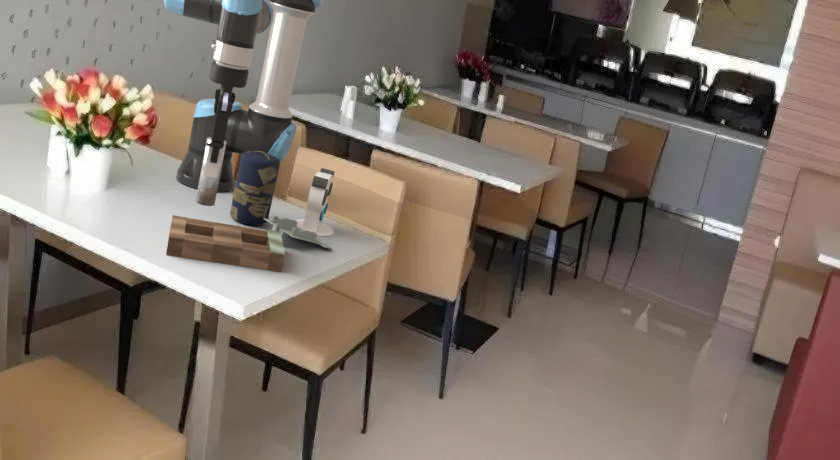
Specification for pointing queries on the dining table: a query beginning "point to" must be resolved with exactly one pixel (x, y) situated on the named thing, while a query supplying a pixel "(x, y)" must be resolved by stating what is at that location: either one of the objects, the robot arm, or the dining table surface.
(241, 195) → the canister
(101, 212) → the dining table surface
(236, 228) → the pin plate
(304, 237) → the metal bracket
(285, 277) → the dining table surface
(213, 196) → the steel pin
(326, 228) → the white upright piece
